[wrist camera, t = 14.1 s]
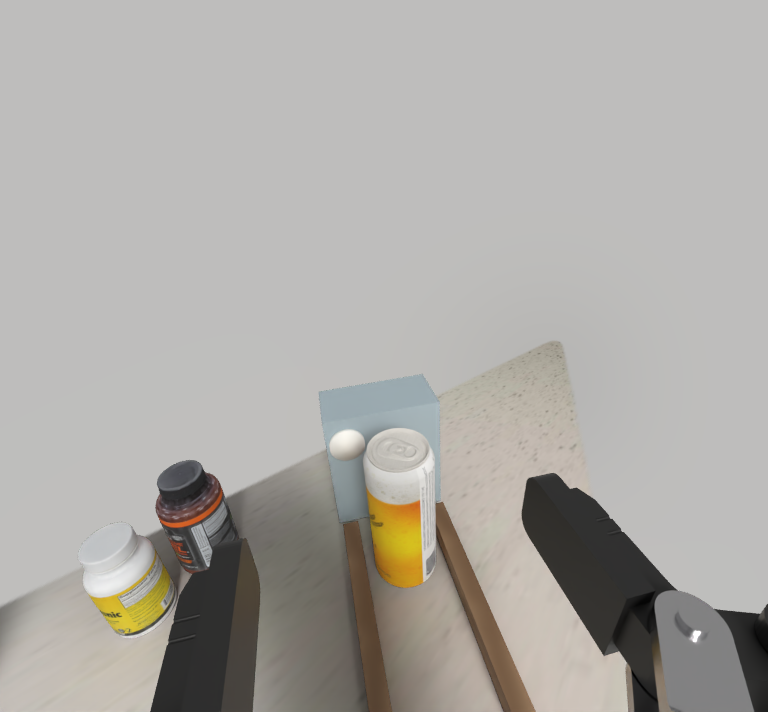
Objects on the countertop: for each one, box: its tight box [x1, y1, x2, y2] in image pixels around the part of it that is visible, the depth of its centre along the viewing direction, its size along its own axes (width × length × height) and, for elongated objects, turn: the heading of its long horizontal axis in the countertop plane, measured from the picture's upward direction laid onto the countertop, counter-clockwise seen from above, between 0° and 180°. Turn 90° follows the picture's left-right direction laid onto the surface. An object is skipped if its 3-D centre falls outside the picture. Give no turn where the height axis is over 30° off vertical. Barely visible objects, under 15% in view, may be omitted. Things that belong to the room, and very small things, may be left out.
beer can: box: [363, 428, 436, 588], centre depth 36 cm, size 6×6×15 cm
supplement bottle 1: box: [78, 522, 177, 638], centre depth 35 cm, size 5×5×10 cm
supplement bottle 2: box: [156, 460, 238, 574], centre depth 39 cm, size 6×6×11 cm
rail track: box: [343, 502, 535, 712], centre depth 34 cm, size 11×19×2 cm, turn 12°
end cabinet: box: [319, 374, 440, 523], centre depth 44 cm, size 12×6×14 cm, turn 102°
